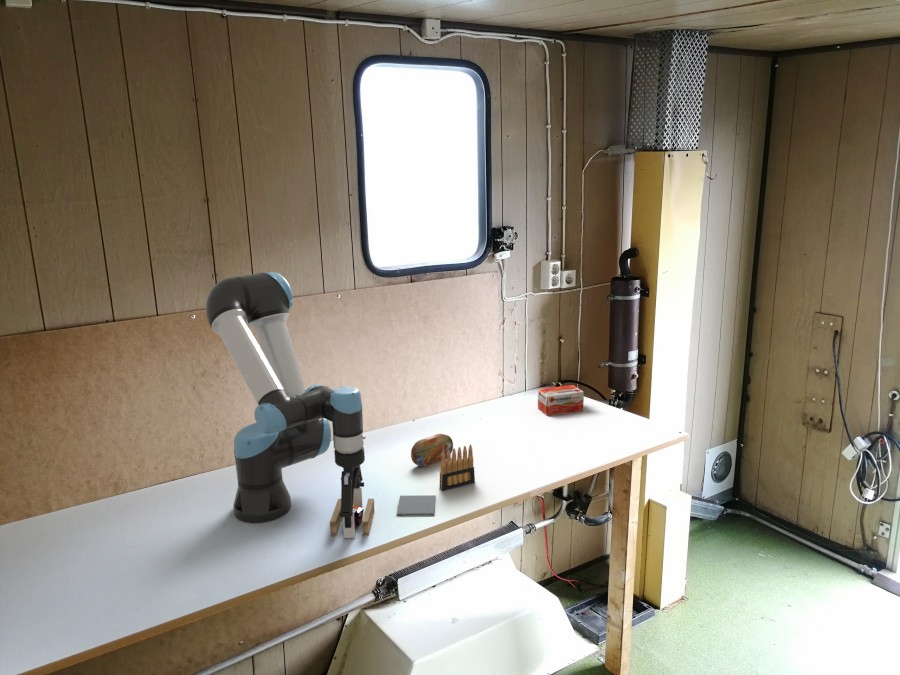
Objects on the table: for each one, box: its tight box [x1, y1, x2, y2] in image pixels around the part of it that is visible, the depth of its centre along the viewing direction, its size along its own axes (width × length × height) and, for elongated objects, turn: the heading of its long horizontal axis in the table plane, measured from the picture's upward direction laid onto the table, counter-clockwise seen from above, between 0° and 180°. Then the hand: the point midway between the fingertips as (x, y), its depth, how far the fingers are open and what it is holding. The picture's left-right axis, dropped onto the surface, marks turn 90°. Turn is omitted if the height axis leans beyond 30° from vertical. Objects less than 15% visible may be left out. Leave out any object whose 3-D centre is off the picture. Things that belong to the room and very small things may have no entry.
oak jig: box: [329, 498, 375, 537], centre depth 178 cm, size 10×12×4 cm
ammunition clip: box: [439, 444, 476, 492], centre depth 197 cm, size 11×2×12 cm, turn 117°
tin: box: [410, 433, 454, 468], centre depth 213 cm, size 15×3×8 cm, turn 129°
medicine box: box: [537, 384, 585, 417], centre depth 255 cm, size 15×8×8 cm, turn 107°
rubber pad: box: [396, 494, 437, 517], centre depth 187 cm, size 10×10×1 cm
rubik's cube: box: [342, 505, 365, 528], centre depth 178 cm, size 4×5×5 cm
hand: (353, 523), depth 179 cm, fingers open, 13 cm apart
